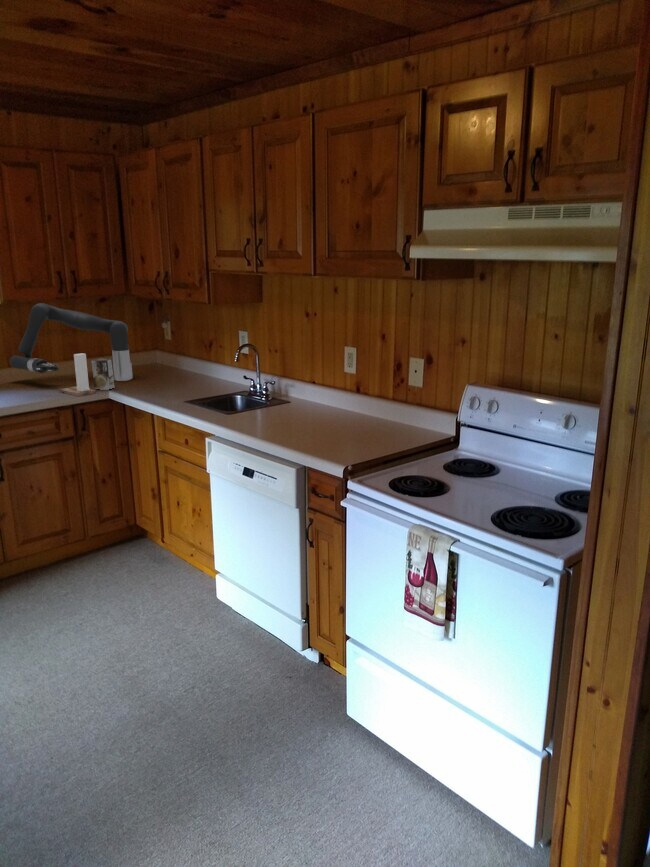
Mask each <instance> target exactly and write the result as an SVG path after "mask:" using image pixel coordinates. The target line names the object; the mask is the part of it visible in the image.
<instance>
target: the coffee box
mask: <svg viewBox="0 0 650 867" xmlns="http://www.w3.org/2000/svg"><path fill="white" fill-rule="evenodd" d="M91 369H92V376H93V377H92V378H93V387H94V388H93V390H94V389H100V390H99V391H110V390H109V389H112V388H114V389H115V388H116V387H115V377H114V366H113V358H95V359H92V360H91ZM112 390H113V389H112Z"/></svg>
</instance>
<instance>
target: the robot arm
mask: <svg viewBox="0 0 650 867" xmlns="http://www.w3.org/2000/svg"><path fill="white" fill-rule="evenodd" d="M46 320H49V321H55V322H59V323H61V324H64V325H66V326H69V327H71V328H73V329H78V330H82V331H91V332H92V331H93V332H103V333H106V334H109V336H110V345H111V351H112V352H111V353H112V364H113V375H114V381H117V382H125V381H130V380H133V378H134V376H133V366H132V362H131V358H130V346H129V342H128V333H129V326H128V325H127V324H126V323H125V322H123V321H122V320H115V319H107V318H102V317H99V316H96V315H92V314H89V313H86V312H81V311H76V310H71V309H63V308H61V307H60V308H59V307H56V306H53V305H50V304H47V303H43V302H39V303H36V304H35V305H33V306H32V307H31V309H30V316H29V320H28V323H27V327H26V330H25V332H24V335H23V337H22V339H21V342H20V343H19V347H18V352H19V353H20V354H23V356H22V355H21V356H20V355H13V356H12V357H11V358H9V364H10V366H11V367H12V368H14V369H16V370H17V369H19V370H25V371H30V372H33V373H38V374H39V373H40V374H44V373H46V372H50V371H54V372H55V371H56V372H57V371H59V366H58V363H57V362H56V363H50V362H48V361H47V360H45V359H43V358H33V357H32V354H33V351H34V348H35V346H36V343H37V340H38V335H39V332H40V329H41V327H42V325H43V323H44V322H45V321H46Z"/></svg>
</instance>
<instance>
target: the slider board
mask: <svg viewBox="0 0 650 867" xmlns="http://www.w3.org/2000/svg"><path fill="white" fill-rule="evenodd" d="M58 392H59V393H60V392H64V393H63V394H65V393H70V394H73V395H72V396H76V397H83V396H88V395H92V394H96V393H97V390H94V389H92V388H90V390H88V391H83V392H81V391H77V385H76V386H71V387H67V388H61V389H59V390H58ZM70 394H69V395H70Z"/></svg>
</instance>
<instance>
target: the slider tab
mask: <svg viewBox="0 0 650 867" xmlns="http://www.w3.org/2000/svg"><path fill="white" fill-rule="evenodd" d="M73 360H74V370H75V379H76V381H75V382H76V387H77V391H81V392H83V391H88V390H90V389H91V388H90V385H89V384H90V383H89V375H88V363H87V354H86V353H83V352H82V353H74V354H73Z"/></svg>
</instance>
